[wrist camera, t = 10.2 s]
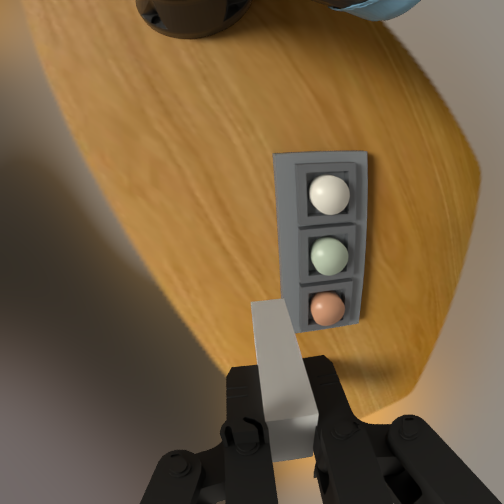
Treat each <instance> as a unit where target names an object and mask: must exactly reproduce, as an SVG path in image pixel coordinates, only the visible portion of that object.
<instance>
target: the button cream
mask: <svg viewBox="0 0 504 504" xmlns="http://www.w3.org/2000/svg"><path fill="white" fill-rule="evenodd" d="M308 197H309V200H310V202H311V203H312V205H313V206H314V207H316V208H317V209H318V210H319V211H320V212H322V213H324V214H327V215H334V214H337V213H339V212H341V211H342V210H344V209H345V207H346V206H347V204H348V202H349V198H350V192H349V188H348V186H347V184H346V183H345V182H344V181H343V180H342V179H340V178H338V177H336V176H333V175H330V174H321V175H319V176H317V177H315V178H314V179H313V180H312V181H311V183H310V185H309V188H308Z"/></svg>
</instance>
